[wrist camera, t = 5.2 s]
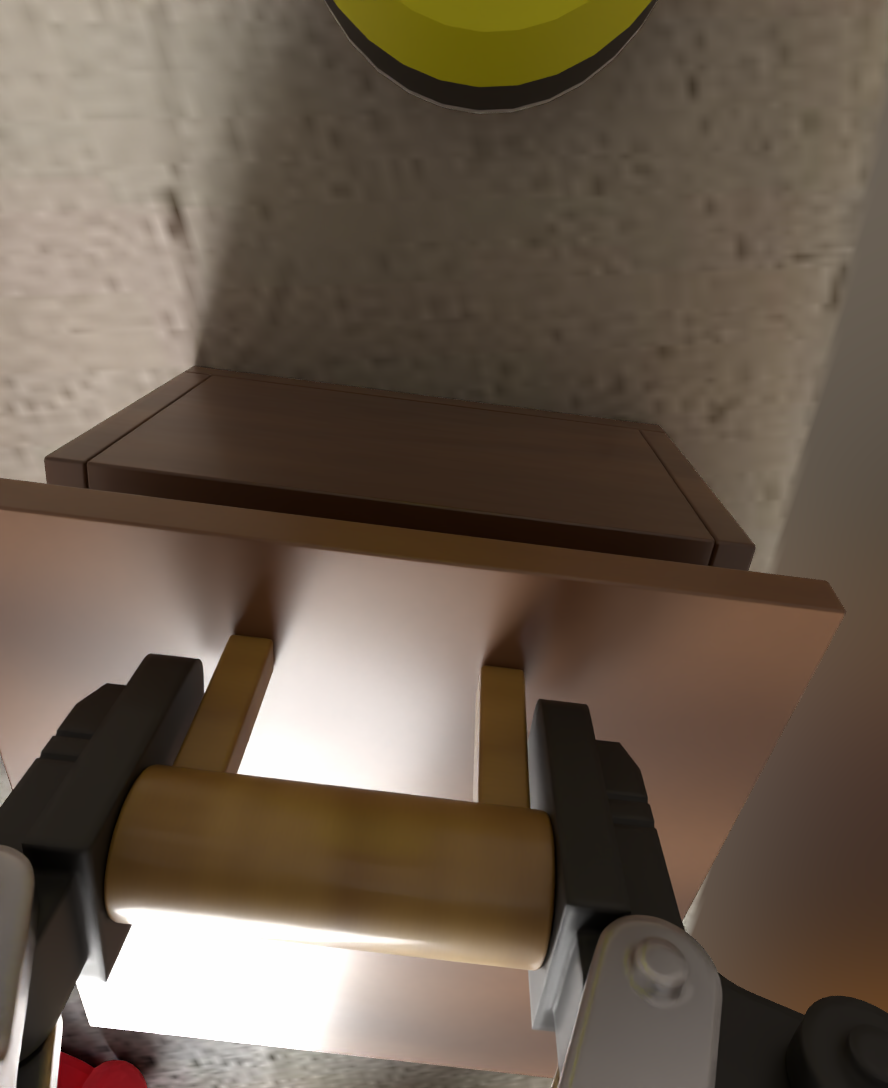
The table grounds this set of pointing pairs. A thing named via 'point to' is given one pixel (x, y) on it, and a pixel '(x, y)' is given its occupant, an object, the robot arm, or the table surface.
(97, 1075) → the alarm clock
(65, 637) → the lid
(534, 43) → the flashlight
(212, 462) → the chest
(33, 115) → the table surface
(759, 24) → the table surface
